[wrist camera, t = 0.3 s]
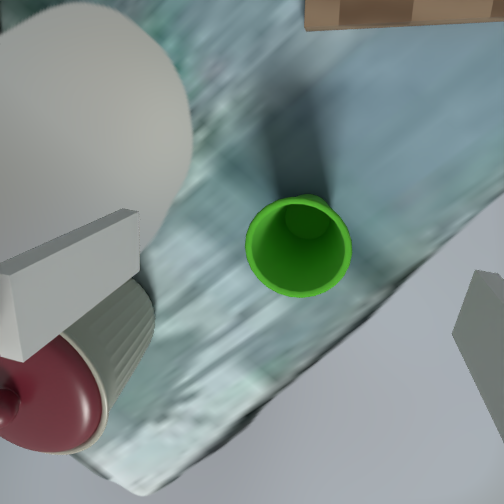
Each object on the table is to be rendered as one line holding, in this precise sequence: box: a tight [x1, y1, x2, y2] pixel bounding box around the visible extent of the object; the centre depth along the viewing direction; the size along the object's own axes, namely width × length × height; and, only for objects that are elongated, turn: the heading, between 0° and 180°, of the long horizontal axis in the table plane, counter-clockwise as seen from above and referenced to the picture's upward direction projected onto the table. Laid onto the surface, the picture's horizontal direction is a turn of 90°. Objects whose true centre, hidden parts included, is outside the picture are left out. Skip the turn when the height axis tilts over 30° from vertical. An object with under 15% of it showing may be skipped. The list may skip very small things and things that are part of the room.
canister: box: [0, 278, 155, 455], centre depth 42 cm, size 18×18×21 cm
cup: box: [245, 194, 352, 298], centre depth 36 cm, size 9×9×11 cm
